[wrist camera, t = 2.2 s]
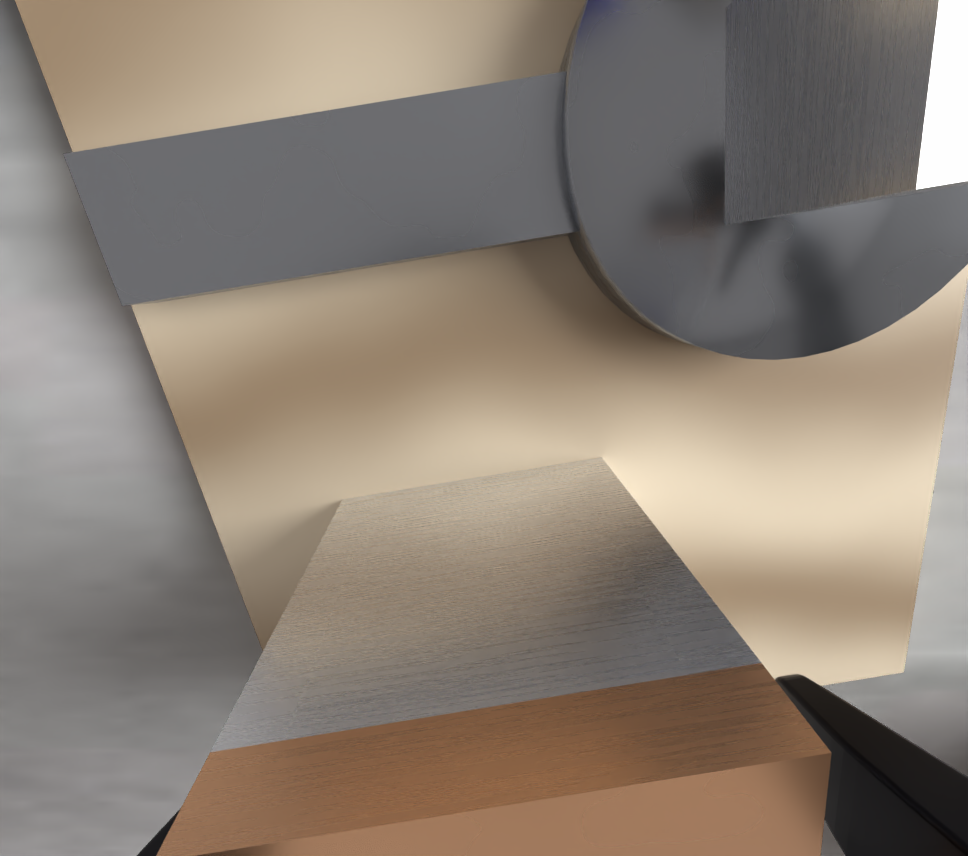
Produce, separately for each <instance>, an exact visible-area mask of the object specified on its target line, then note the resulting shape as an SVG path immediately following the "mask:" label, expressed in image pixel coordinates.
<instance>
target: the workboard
mask: <svg viewBox="0 0 968 856" xmlns="http://www.w3.org/2000/svg"><path fill="white" fill-rule="evenodd" d="M15 2H16V4H17V7H18V10H19V12H20V15H21V18H22V20H23V23H24V25H25V28H26V31H27V33H28V36H29V39H30V41H31V44H32V46H33V49H34V52H35V54H36V57H37V60H38V62H39V65H40V67H41V70H42V73H43V75H44V78H45V81H46V83H47V86H48V88H49V91H50V94H51V96H52V99H53V102H54V104H55V107H56V109H57V112H58V115H59V117H60V120H61V123H62V125H63V128H64V130H65V133H66V136H67V138H68V141H69V144H70V146H71V149H72V151H73V152H77V151H83V150H89V149H96V148H102V147H108V146H114V145H120V144H126V143H132V142H138V141H144V140H150V139H156V138H162V137H168V136H175V135H181V134H187V133H193V132H199V131H205V130H211V129H217V128H223V127H229V126H235V125H241V124H248V123H254V122H260V121H266V120H272V119H278V118H284V117H290V116H296V115H302V114H308V113H314V112H321V111H327V110H333V109H339V108H345V107H351V106H357V105H363V104H369V103H375V102H381V101H387V100H394V99H400V98H406V97H412V96H418V95H424V94H430V93H436V92H442V91H448V90H454V89H460V88H467V87H473V86H479V85H485V84H491V83H497V82H503V81H509V80H515V79H521V78H527V77H533V76H540V75H546V74H552V73H558V72H559V70H560V66H561V63H562V60H563V57H564V53H565V50H566V47H567V43H568V40H569V37H570V35H571V32H572V30H573V28H574V26H575V23H576V21H577V19H578V16H579V14H580V12H581V9H582V7H583V5H584V2H585V0H15ZM967 280H968V264H967V265H966V266H965V267H964V268H963V269H962V270H961V271H960V272H959V273H958V274H957V275H956V276H955V277H954V278H953V279H952V280H951V281H950V282H949V283H947V284H946V285H945V286H944V287H943V288H942V289H941V290H940V291H939V292H937V293H936V294H935V295H934V296H932V297H931V298H930V299H928V300H927V301H926V302H925V303H923V304H922V305H921V306H919V307H918V308H917V309H916V310H914V311H913V312H911V313H909V314H908V315H906V316H905V317H903V318H901V319H900V320H898V321H897V322H895V323H894V324H892V325H890V326H889V327H887V328H885V329H883V330H881V331H879V332H877V333H875V334H873V335H871V336H869V337H867V338H865V339H862V340H860V341H858V342H855V343H852V344H849V345H847V346H844V347H841V348H838V349H835V350H833V351H829V352H824V353H820V354H815V355H811V356H807V357H800V358H790V359H780V360H765V359H746V358H740V357H735V356H729V355H723V354H719V353H716V352H713V351H710V350H706V349H703V348H700V347H696V346H693V345H690V344H686V343H683V342H680V341H677V340H674V339H671V338H668V337H665V336H662V335H660V334H658V333H656V332H654V331H652V330H650V329H648V328H646V327H644V326H642V325H641V324H639V323H638V322H636V321H635V320H633V319H632V318H631V317H629V316H628V315H626V314H625V313H623V312H622V311H621V310H620V309H619V308H618V307H617V306H616V305H615V304H614V303H612V302H611V301H610V300H609V299H608V298H607V297H606V296H605V295H604V294H603V293H602V291H601V290H600V289H599V288H598V286H597V285H596V284H595V283H594V281H593V280H592V279H591V278H590V276H589V275H588V273H587V272H586V270H585V268H584V267H583V265H582V263H581V262H580V260H579V258H578V257H577V255H576V253H575V251H574V249H573V247H572V244H571V242H570V240H569V237H568V235H567V236H561V237H555V238H549V239H543V240H537V241H531V242H525V243H519V244H513V245H506V246H500V247H494V248H488V249H482V250H476V251H470V252H464V253H458V254H451V255H445V256H439V257H433V258H427V259H421V260H415V261H409V262H403V263H397V264H390V265H384V266H378V267H372V268H366V269H360V270H354V271H348V272H342V273H335V274H329V275H323V276H317V277H311V278H305V279H299V280H293V281H287V282H281V283H274V284H268V285H262V286H256V287H250V288H244V289H238V290H232V291H226V292H219V293H213V294H207V295H201V296H195V297H189V298H183V299H177V300H171V301H165V302H158V303H149V304H138V305H131V306H132V309H133V312H134V314H135V317H136V319H137V322H138V325H139V327H140V330H141V333H142V335H143V338H144V340H145V343H146V346H147V348H148V351H149V354H150V356H151V359H152V361H153V364H154V367H155V369H156V372H157V375H158V377H159V380H160V382H161V385H162V388H163V390H164V393H165V396H166V398H167V401H168V403H169V406H170V409H171V411H172V414H173V417H174V419H175V422H176V424H177V427H178V430H179V432H180V435H181V438H182V440H183V443H184V445H185V448H186V451H187V453H188V456H189V459H190V461H191V464H192V466H193V469H194V472H195V474H196V477H197V480H198V482H199V485H200V487H201V490H202V493H203V495H204V498H205V501H206V503H207V506H208V508H209V511H210V514H211V516H212V519H213V522H214V524H215V527H216V529H217V532H218V535H219V537H220V540H221V543H222V545H223V548H224V550H225V553H226V556H227V558H228V561H229V564H230V566H231V569H232V571H233V574H234V577H235V579H236V582H237V585H238V587H239V590H240V592H241V595H242V598H243V600H244V603H245V606H246V608H247V611H248V613H249V616H250V619H251V621H252V624H253V627H254V629H255V632H256V634H257V637H258V640H259V642H260V645H261V648H262V650H264V649H265V647H266V645H267V643H268V641H269V639H270V637H271V635H272V633H273V631H274V629H275V627H276V626H277V624H278V622H279V620H280V618H281V616H282V614H283V612H284V610H285V608H286V606H287V605H288V603H289V601H290V599H291V597H292V595H293V593H294V591H295V589H296V587H297V585H298V583H299V582H300V580H301V578H302V576H303V574H304V572H305V570H306V568H307V566H308V564H309V562H310V561H311V559H312V557H313V555H314V553H315V551H316V549H317V547H318V545H319V543H320V541H321V539H322V538H323V536H324V534H325V532H326V530H327V528H328V526H329V524H330V522H331V520H332V518H333V517H334V515H335V513H336V511H337V509H338V507H339V505H340V503H341V501H342V499H348V498H354V497H360V496H366V495H372V494H379V493H385V492H391V491H397V490H403V489H409V488H415V487H422V486H428V485H434V484H440V483H446V482H452V481H458V480H464V479H471V478H477V477H483V476H489V475H495V474H501V473H507V472H514V471H520V470H526V469H532V468H538V467H544V466H550V465H557V464H563V463H569V462H575V461H581V460H587V459H593V458H599V457H602V458H603V460H604V461H605V462H606V463H607V465H608V466H609V467H610V469H611V470H612V471H613V472H614V474H615V475H616V476H617V478H618V479H619V480H620V481H621V483H622V484H623V485H624V487H625V488H626V489H627V490H628V492H629V493H630V494H631V496H632V497H633V498H634V499H635V501H636V502H637V503H638V505H639V506H640V507H641V508H642V510H643V511H644V512H645V514H646V515H647V516H648V517H649V519H650V520H651V521H652V523H653V524H654V525H655V526H656V528H657V529H658V530H659V532H660V533H661V534H662V535H663V537H664V538H665V539H666V541H667V542H668V543H669V544H670V546H671V547H672V548H673V550H674V551H675V552H676V553H677V555H678V556H679V557H680V559H681V560H682V561H683V562H684V564H685V565H686V566H687V568H688V569H689V570H690V571H691V573H692V574H693V575H694V577H695V578H696V579H697V580H698V582H699V583H700V584H701V586H702V587H703V588H704V589H705V591H706V592H707V593H708V595H709V596H710V597H711V598H712V600H713V601H714V602H715V604H716V605H717V606H718V607H719V609H720V610H721V611H722V613H723V614H724V615H725V616H726V618H727V619H728V620H729V622H730V623H731V624H732V625H733V627H734V628H735V629H736V631H737V632H738V633H739V634H740V636H741V637H742V638H743V640H744V641H745V642H746V643H747V645H748V646H749V647H750V649H751V650H752V651H753V652H754V654H755V655H756V656H757V658H758V659H759V660H760V661H761V663H762V664H763V665H764V667H765V668H766V669H767V670H768V672H769V673H770V674H771V676H772V677H773V678H774V679H776V678H777V677H779V676H786V675H792V674H801V675H803V676H805V677H807V678H809V679H810V680H812V681H814V682H815V683H817V684H819V685H820V686H823V685H829V684H835V683H842V682H848V681H854V680H860V679H866V678H872V677H879V676H885V675H891V674H897V673H903V672H904V668H905V662H906V656H907V649H908V643H909V637H910V631H911V625H912V619H913V612H914V606H915V600H916V594H917V588H918V582H919V575H920V569H921V563H922V557H923V551H924V545H925V538H926V532H927V526H928V520H929V514H930V508H931V501H932V495H933V489H934V483H935V477H936V471H937V464H938V458H939V452H940V446H941V440H942V434H943V428H944V421H945V415H946V409H947V403H948V397H949V391H950V384H951V378H952V372H953V366H954V360H955V354H956V347H957V341H958V335H959V329H960V323H961V317H962V310H963V304H964V298H965V292H966V286H967Z"/></svg>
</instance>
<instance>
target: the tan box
mask: <svg viewBox="0 0 968 856" xmlns="http://www.w3.org/2000/svg"><path fill="white" fill-rule="evenodd" d="M830 762H831V751H830V750H829V749H828V748H827V746H826V745H825V744H824V742H823V741H822V740H821V739H820V737H819V736H818V735H817V733H816V732H815V731H814V730H813V728H812V727H811V726H810V724H809V723H808V722H807V721H806V719H805V718H804V717H803V715H802V714H801V713H800V712H799V710H798V709H797V708H796V706H795V705H794V704H793V703H792V701H791V700H790V699H789V697H788V696H787V695H786V694H785V692H784V691H783V690H782V688H781V687H780V686H779V685H778V683H777V682H776V681H775V679H774V678H773V677H772V676H771V674H770V673H769V672H768V670H767V669H766V668H765V667H764V665H763V664H762V663H761V661H760V660H759V659H758V658H757V656H756V655H755V654H754V652H753V651H752V650H751V649H750V647H749V646H748V645H747V643H746V642H745V641H744V640H743V638H742V637H741V636H740V634H739V633H738V632H737V631H736V629H735V628H734V627H733V625H732V624H731V623H730V622H729V620H728V619H727V618H726V616H725V615H724V614H723V613H722V611H721V610H720V609H719V607H718V606H717V605H716V604H715V602H714V601H713V600H712V598H711V597H710V596H709V595H708V593H707V592H706V591H705V589H704V588H703V587H702V586H701V584H700V583H699V582H698V580H697V579H696V578H695V577H694V575H693V574H692V573H691V571H690V570H689V569H688V568H687V566H686V565H685V564H684V562H683V561H682V560H681V559H680V557H679V556H678V555H677V553H676V552H675V551H674V550H673V548H672V547H671V546H670V544H669V543H668V542H667V541H666V539H665V538H664V537H663V535H662V534H661V533H660V532H659V530H658V529H657V528H656V526H655V525H654V524H653V523H652V521H651V520H650V519H649V517H648V516H647V515H646V514H645V512H644V511H643V510H642V508H641V507H640V506H639V505H638V503H637V502H636V501H635V499H634V498H633V497H632V496H631V494H630V493H629V492H628V490H627V489H626V488H625V487H624V485H623V484H622V483H621V481H620V480H619V479H618V478H617V476H616V475H615V474H614V472H613V471H612V470H611V469H610V467H609V466H608V465H607V463H606V462H605V461H604V460H603V458H602V457H599V458H593V459H587V460H581V461H575V462H569V463H563V464H557V465H550V466H544V467H538V468H532V469H526V470H520V471H514V472H507V473H501V474H495V475H489V476H483V477H477V478H471V479H464V480H458V481H452V482H446V483H440V484H434V485H428V486H422V487H415V488H409V489H403V490H397V491H391V492H385V493H379V494H372V495H366V496H360V497H354V498H348V499H342V501H341V503H340V505H339V507H338V509H337V511H336V513H335V515H334V517H333V518H332V520H331V522H330V524H329V526H328V528H327V530H326V532H325V534H324V536H323V538H322V539H321V541H320V543H319V545H318V547H317V549H316V551H315V553H314V555H313V557H312V559H311V561H310V562H309V564H308V566H307V568H306V570H305V572H304V574H303V576H302V578H301V580H300V582H299V583H298V585H297V587H296V589H295V591H294V593H293V595H292V597H291V599H290V601H289V603H288V605H287V606H286V608H285V610H284V612H283V614H282V616H281V618H280V620H279V622H278V624H277V626H276V627H275V629H274V631H273V633H272V635H271V637H270V639H269V641H268V643H267V645H266V647H265V649H264V650H263V652H262V654H261V656H260V658H259V660H258V662H257V664H256V666H255V668H254V670H253V671H252V673H251V675H250V677H249V679H248V681H247V683H246V685H245V687H244V689H243V691H242V693H241V694H240V696H239V698H238V700H237V702H236V704H235V706H234V708H233V710H232V712H231V714H230V715H229V717H228V719H227V721H226V723H225V725H224V727H223V729H222V731H221V733H220V735H219V737H218V738H217V740H216V742H215V744H214V746H213V748H212V750H211V752H210V754H209V756H208V758H207V759H206V761H205V763H204V765H203V767H202V769H201V771H200V773H199V775H198V777H197V779H196V781H195V782H194V784H193V786H192V788H191V790H190V792H189V794H188V796H187V798H186V800H185V802H184V803H183V805H182V807H181V809H180V811H179V813H178V815H177V817H176V819H175V821H174V823H173V825H172V826H171V828H170V830H169V832H168V834H167V836H166V838H165V840H164V842H163V844H162V846H161V847H160V849H159V851H158V853H157V855H156V856H820V855H821V846H822V837H823V827H824V818H825V809H826V800H827V790H828V781H829V772H830Z"/></svg>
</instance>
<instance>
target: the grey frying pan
mask: <svg viewBox="0 0 968 856" xmlns="http://www.w3.org/2000/svg"><path fill="white" fill-rule="evenodd" d="M64 157H65V160H66V162H67V165H68V167H69V170H70V173H71V175H72V178H73V180H74V183H75V185H76V188H77V191H78V193H79V196H80V198H81V201H82V204H83V206H84V209H85V211H86V214H87V216H88V219H89V222H90V224H91V227H92V229H93V232H94V235H95V237H96V240H97V242H98V245H99V247H100V250H101V253H102V255H103V258H104V260H105V263H106V266H107V268H108V271H109V273H110V276H111V278H112V281H113V284H114V286H115V289H116V291H117V294H118V297H119V299H120V302H121V304H122V306H127V305H138V304H149V303H158V302H165V301H171V300H177V299H183V298H189V297H195V296H201V295H207V294H213V293H219V292H226V291H232V290H238V289H244V288H250V287H256V286H262V285H268V284H274V283H281V282H287V281H293V280H299V279H305V278H311V277H317V276H323V275H329V274H335V273H342V272H348V271H354V270H360V269H366V268H372V267H378V266H384V265H390V264H397V263H403V262H409V261H415V260H421V259H427V258H433V257H439V256H445V255H451V254H458V253H464V252H470V251H476V250H482V249H488V248H494V247H500V246H506V245H513V244H519V243H525V242H531V241H537V240H543V239H549V238H555V237H561V236H567V235H568V237H569V240H570V242H571V244H572V247H573V249H574V251H575V253H576V255H577V257H578V258H579V260H580V262H581V263H582V265H583V267H584V268H585V270H586V272H587V273H588V275H589V276H590V278H591V279H592V280H593V281H594V283H595V284H596V285H597V286H598V288H599V289H600V290H601V291H602V293H603V294H604V295H605V296H606V297H607V298H608V299H609V300H610V301H611V302H612V303H614V304H615V305H616V306H617V307H618V308H619V309H620V310H621V311H622V312H623V313H625V314H626V315H628V316H629V317H631V318H632V319H633V320H635V321H636V322H638V323H639V324H641V325H642V326H644V327H646V328H648V329H650V330H652V331H654V332H656V333H658V334H660V335H662V336H665V337H668V338H671V339H674V340H677V341H680V342H683V343H686V344H690V345H693V346H696V347H700V348H703V349H706V350H710V351H713V352H716V353H719V354H723V355H729V356H735V357H740V358H746V359H765V360H780V359H790V358H800V357H807V356H811V355H815V354H820V353H824V352H829V351H833V350H835V349H838V348H841V347H844V346H847V345H849V344H852V343H855V342H858V341H860V340H862V339H865V338H867V337H869V336H871V335H873V334H875V333H877V332H879V331H881V330H883V329H885V328H887V327H889V326H890V325H892V324H894V323H895V322H897V321H898V320H900V319H901V318H903V317H905V316H906V315H908V314H909V313H911V312H913V311H914V310H916V309H917V308H918V307H919V306H921V305H922V304H923V303H925V302H926V301H927V300H928V299H930V298H931V297H932V296H934V295H935V294H936V293H937V292H939V291H940V290H941V289H942V288H943V287H944V286H945V285H946V284H947V283H949V282H950V281H951V280H952V279H953V278H954V277H955V276H956V275H957V274H958V273H959V272H960V271H961V270H962V269H963V268H964V267H965V266H966V265H967V264H968V0H585V2H584V5H583V7H582V9H581V12H580V14H579V16H578V19H577V21H576V23H575V26H574V28H573V30H572V32H571V35H570V37H569V40H568V43H567V47H566V50H565V53H564V57H563V60H562V63H561V66H560V70H559V72H558V73H552V74H546V75H540V76H533V77H527V78H521V79H515V80H509V81H503V82H497V83H491V84H485V85H479V86H473V87H467V88H460V89H454V90H448V91H442V92H436V93H430V94H424V95H418V96H412V97H406V98H400V99H394V100H387V101H381V102H375V103H369V104H363V105H357V106H351V107H345V108H339V109H333V110H327V111H321V112H314V113H308V114H302V115H296V116H290V117H284V118H278V119H272V120H266V121H260V122H254V123H248V124H241V125H235V126H229V127H223V128H217V129H211V130H205V131H199V132H193V133H187V134H181V135H175V136H168V137H162V138H156V139H150V140H144V141H138V142H132V143H126V144H120V145H114V146H108V147H102V148H96V149H89V150H83V151H77V152H71V153H65V154H64Z"/></svg>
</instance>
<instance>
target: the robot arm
mask: <svg viewBox="0 0 968 856" xmlns="http://www.w3.org/2000/svg"><path fill="white" fill-rule="evenodd" d="M775 681H776V682H777V683H778V685H779V686H780V687H781V688H782V690H783V691H784V692H785V694H786V695H787V696H788V697H789V699H790V700H791V701H792V703H793V704H794V705H795V706H796V708H797V709H798V710H799V712H800V713H801V714H802V715H803V717H804V718H805V719H806V721H807V722H808V723H809V724H810V726H811V727H812V728H813V730H814V731H815V732H816V733H817V735H818V736H819V737H820V739H821V740H822V741H823V742H824V744H825V745H826V746H827V748H828V749H829V750H830V751H831V762H830V772H829V781H828V790H827V800H826V809H825V818H824V819H825V821H826V823H827V825H828V827H829V828H830V830H831V832H832V834H833V836H834V837H835V839H836V841H837V842H838V844H839V846H840V847H841V849H842V850H843V852H844V854H845V855H846V856H968V777H967V776H965V775H964V774H962V773H961V772H959V771H957V770H956V769H954V768H952V767H951V766H949V765H948V764H946V763H944V762H943V761H941V760H940V759H938V758H936V757H935V756H933V755H932V754H930V753H928V752H927V751H925V750H923V749H922V748H920V747H919V746H917V745H915V744H914V743H912V742H911V741H909V740H907V739H906V738H904V737H902V736H901V735H899V734H898V733H896V732H894V731H893V730H891V729H890V728H888V727H886V726H885V725H883V724H881V723H880V722H878V721H877V720H875V719H873V718H872V717H870V716H869V715H867V714H865V713H864V712H862V711H861V710H859V709H857V708H856V707H854V706H852V705H851V704H849V703H848V702H846V701H844V700H843V699H841V698H840V697H838V696H836V695H835V694H833V693H831V692H830V691H828V690H827V689H825V688H823V687H822V686H820V685H819V684H817V683H815V682H814V681H812V680H810V679H809V678H807V677H805V676H803V675H801V674H792V675H786V676H779V677H777V678H776V679H775ZM180 809H181V808H180ZM179 811H180V810H179ZM179 811H178V812H177V813H176V814H175V815H174V816H173V817H172V818H171V819H170V820H169V821H168V822H167V824H166V825H165V826H164V827H163V828H162V829H161V830H160V831H159V832H158V833H157V834H156V835H155V837H154V838H153V839H152V840H151V841H150V842H149V843H148V844H147V845H146V846H145V847H144V848H143V849H142V851H141V852H140V853H139V854H138V855H137V856H156V855H157V853H158V851H159V849H160V847H161V846H162V844H163V842H164V840H165V838H166V836H167V834H168V832H169V830H170V828H171V826H172V825H173V823H174V821H175V819H176V817H177V815H178V813H179Z"/></svg>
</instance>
